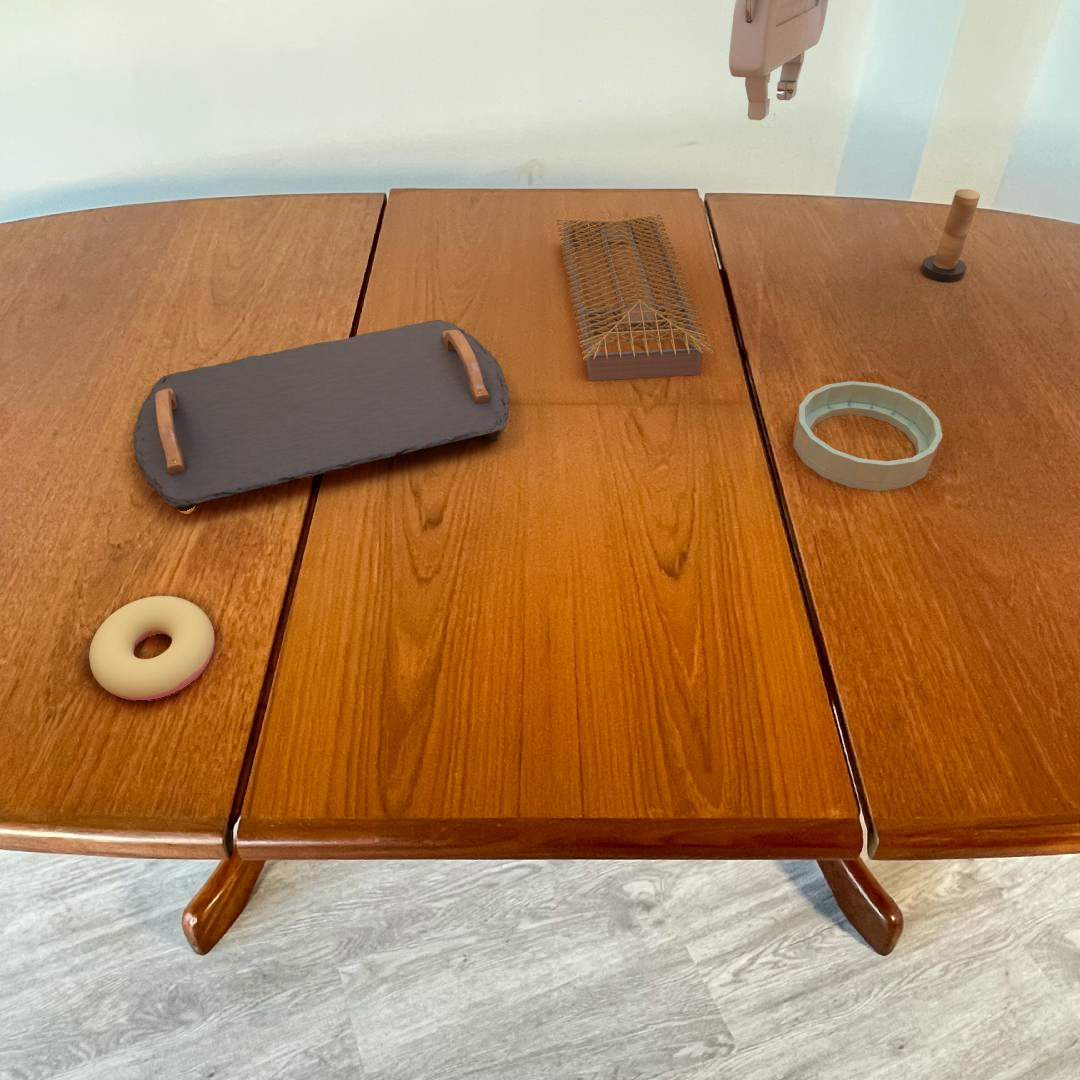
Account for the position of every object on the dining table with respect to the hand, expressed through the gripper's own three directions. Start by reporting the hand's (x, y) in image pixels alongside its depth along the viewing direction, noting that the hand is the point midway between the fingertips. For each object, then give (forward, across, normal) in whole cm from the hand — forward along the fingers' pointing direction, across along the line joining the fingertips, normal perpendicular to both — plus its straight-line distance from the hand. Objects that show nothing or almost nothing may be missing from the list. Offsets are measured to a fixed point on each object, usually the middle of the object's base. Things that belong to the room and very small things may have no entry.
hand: (772, 108), depth 94 cm
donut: (+28, -74, +24) cm, 82 cm away
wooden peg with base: (+24, +18, -18) cm, 35 cm away
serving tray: (+24, -42, +33) cm, 58 cm away
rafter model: (+22, -5, +15) cm, 28 cm away
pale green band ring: (+27, -22, -18) cm, 39 cm away
